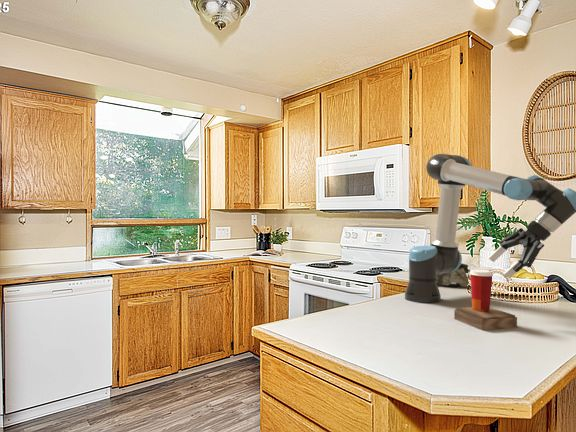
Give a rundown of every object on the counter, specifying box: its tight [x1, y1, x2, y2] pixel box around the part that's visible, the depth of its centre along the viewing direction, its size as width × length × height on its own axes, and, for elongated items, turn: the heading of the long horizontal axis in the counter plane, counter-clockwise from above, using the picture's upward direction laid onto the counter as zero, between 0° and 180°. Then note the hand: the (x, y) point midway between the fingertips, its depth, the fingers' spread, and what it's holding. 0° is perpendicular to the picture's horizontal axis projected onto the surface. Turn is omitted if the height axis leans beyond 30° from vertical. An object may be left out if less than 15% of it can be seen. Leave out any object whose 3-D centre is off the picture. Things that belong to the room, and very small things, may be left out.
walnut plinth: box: [453, 306, 518, 331], centre depth 140 cm, size 14×14×4 cm
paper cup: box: [468, 268, 493, 312], centre depth 142 cm, size 8×8×14 cm
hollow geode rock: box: [437, 262, 471, 288], centre depth 209 cm, size 28×13×15 cm
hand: (498, 267), depth 149 cm, fingers open, 13 cm apart
